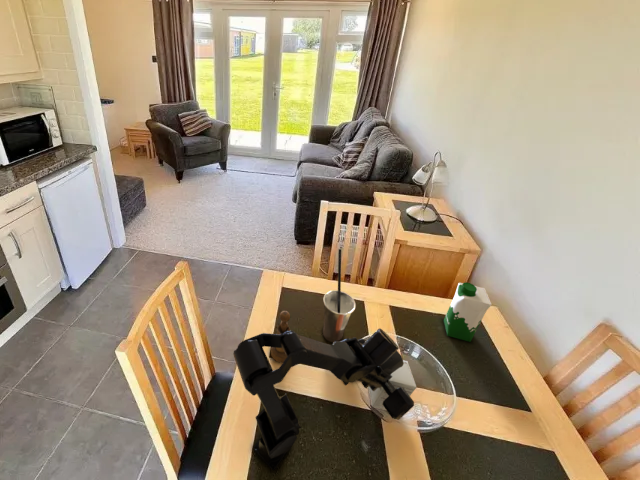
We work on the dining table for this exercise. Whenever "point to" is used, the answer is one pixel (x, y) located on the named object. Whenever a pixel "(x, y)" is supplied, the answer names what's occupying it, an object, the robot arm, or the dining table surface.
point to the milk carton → (466, 311)
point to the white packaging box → (399, 379)
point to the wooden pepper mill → (279, 353)
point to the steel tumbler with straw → (337, 310)
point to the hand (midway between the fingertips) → (391, 381)
